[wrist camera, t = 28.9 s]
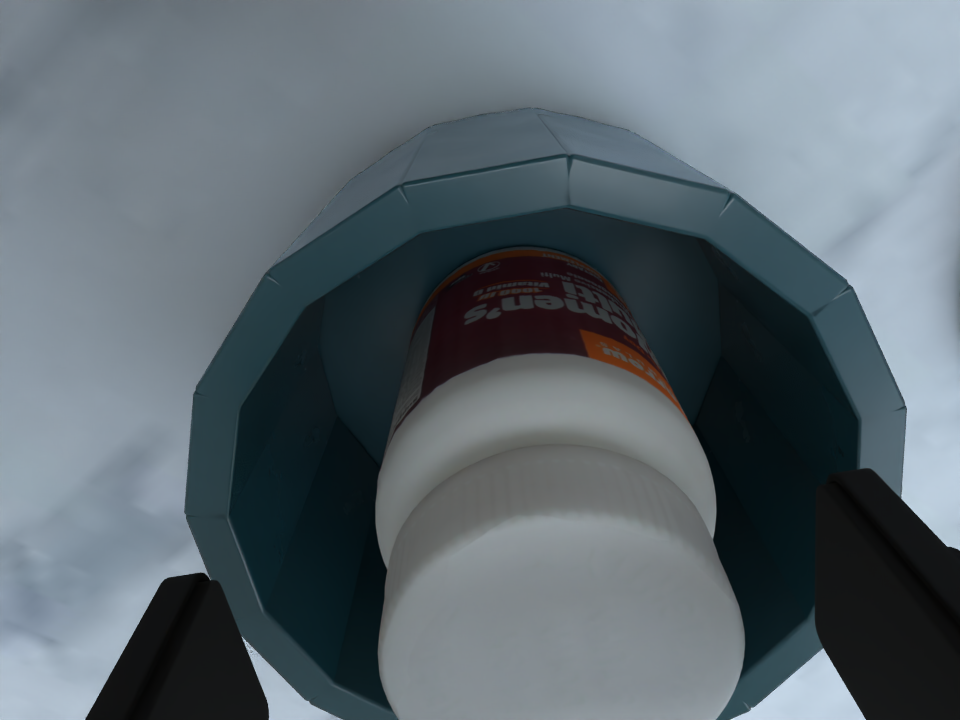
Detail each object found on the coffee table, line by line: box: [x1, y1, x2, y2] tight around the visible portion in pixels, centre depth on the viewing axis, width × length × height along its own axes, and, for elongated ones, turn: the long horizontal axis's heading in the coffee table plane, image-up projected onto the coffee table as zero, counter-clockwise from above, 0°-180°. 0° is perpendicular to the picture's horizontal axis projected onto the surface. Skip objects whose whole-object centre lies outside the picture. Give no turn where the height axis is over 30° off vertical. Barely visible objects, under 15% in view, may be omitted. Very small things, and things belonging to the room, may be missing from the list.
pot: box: [184, 108, 907, 720], centre depth 17 cm, size 13×13×8 cm
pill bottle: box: [375, 247, 745, 720], centre depth 15 cm, size 6×6×11 cm
